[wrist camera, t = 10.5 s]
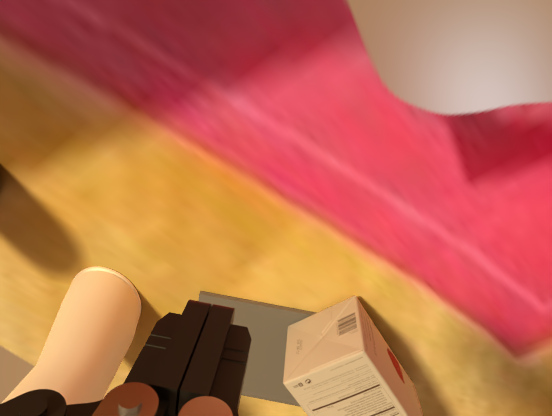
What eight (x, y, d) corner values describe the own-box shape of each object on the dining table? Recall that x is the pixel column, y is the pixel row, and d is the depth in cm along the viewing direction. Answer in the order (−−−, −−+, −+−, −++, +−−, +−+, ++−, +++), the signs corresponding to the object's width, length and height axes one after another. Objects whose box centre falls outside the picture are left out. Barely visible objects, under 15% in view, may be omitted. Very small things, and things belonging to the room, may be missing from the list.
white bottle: (175, 313, 50) (54, 554, 27) (127, 362, 54) (-15, 610, 31) (93, 253, 48) (-114, 461, 25) (49, 308, 51) (-167, 534, 29)
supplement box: (356, 292, 46) (416, 384, 50) (286, 324, 48) (349, 410, 53) (366, 350, 38) (437, 455, 42) (281, 386, 40) (356, 481, 44)
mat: (373, 323, 48) (374, 327, 47) (345, 411, 54) (346, 415, 53) (200, 290, 48) (199, 294, 48) (191, 381, 54) (189, 385, 53)
